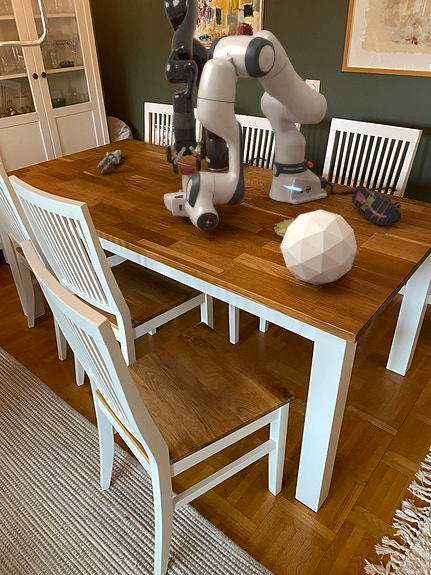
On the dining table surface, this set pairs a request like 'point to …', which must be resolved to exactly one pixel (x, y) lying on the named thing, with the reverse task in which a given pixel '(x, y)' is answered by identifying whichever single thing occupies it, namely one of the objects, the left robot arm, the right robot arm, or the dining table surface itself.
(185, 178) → the beige cylinder
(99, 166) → the figurine
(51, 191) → the dining table surface
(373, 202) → the athletic shoe
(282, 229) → the decorative object
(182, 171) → the lid
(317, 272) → the sphere
